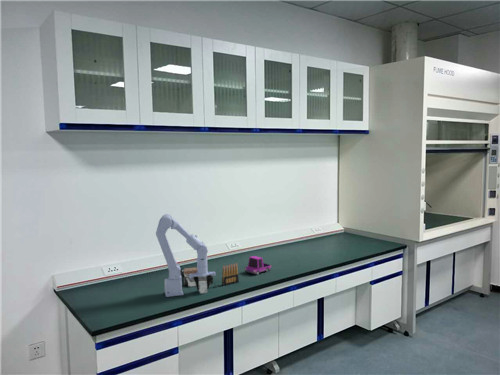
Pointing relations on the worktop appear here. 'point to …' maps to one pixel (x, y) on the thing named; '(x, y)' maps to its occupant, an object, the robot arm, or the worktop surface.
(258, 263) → the toy truck
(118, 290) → the worktop surface
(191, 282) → the chassis
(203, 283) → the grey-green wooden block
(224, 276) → the ammunition clip
